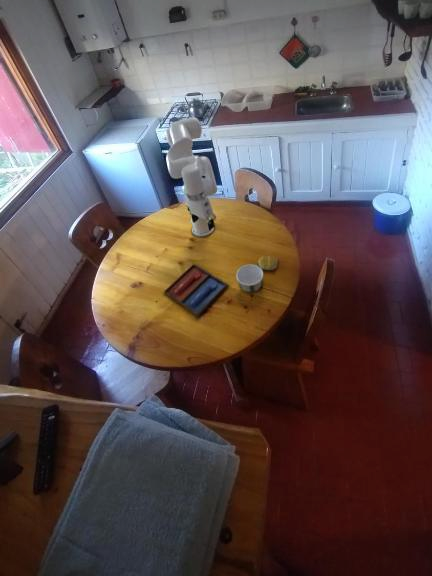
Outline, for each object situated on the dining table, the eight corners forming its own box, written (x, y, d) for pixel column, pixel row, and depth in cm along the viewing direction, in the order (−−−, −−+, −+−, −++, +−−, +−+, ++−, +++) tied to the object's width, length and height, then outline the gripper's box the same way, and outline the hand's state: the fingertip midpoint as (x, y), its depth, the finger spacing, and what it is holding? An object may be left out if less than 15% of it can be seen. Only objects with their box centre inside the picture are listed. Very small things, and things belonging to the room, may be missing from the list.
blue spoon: (195, 309, 151) (194, 306, 150) (188, 304, 154) (187, 301, 152) (219, 285, 160) (218, 281, 158) (212, 280, 162) (211, 277, 161)
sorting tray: (164, 293, 162) (163, 291, 160) (194, 266, 172) (193, 263, 171) (198, 317, 149) (197, 314, 147) (228, 286, 159) (227, 283, 158)
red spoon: (179, 298, 157) (177, 294, 156) (172, 293, 160) (171, 290, 159) (202, 275, 166) (201, 271, 164) (196, 271, 168) (195, 267, 167)
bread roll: (259, 257, 170) (259, 251, 167) (278, 259, 167) (277, 253, 165) (257, 270, 164) (256, 264, 161) (276, 272, 161) (275, 266, 158)
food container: (268, 289, 154) (267, 279, 150) (243, 298, 153) (241, 288, 149) (258, 270, 163) (257, 261, 159) (234, 278, 162) (232, 269, 158)
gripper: (217, 194, 138) (224, 226, 149) (187, 182, 149) (195, 213, 159) (205, 204, 134) (212, 236, 145) (175, 192, 145) (184, 222, 155)
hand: (203, 224), depth 152 cm, fingers open, 9 cm apart
